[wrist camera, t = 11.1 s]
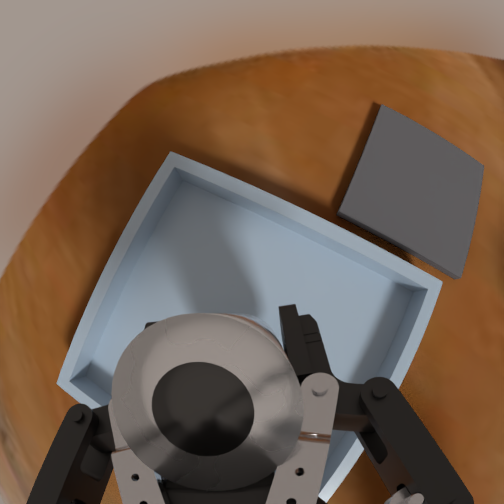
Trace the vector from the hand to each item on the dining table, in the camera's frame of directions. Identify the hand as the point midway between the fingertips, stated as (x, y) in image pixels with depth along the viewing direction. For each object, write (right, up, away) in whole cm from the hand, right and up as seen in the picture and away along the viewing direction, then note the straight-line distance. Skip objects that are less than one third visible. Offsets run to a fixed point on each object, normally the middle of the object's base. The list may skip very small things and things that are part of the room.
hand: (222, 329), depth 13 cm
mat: (+16, +9, +11) cm, 21 cm away
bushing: (+1, -3, +5) cm, 6 cm away
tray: (+1, -3, +9) cm, 10 cm away
